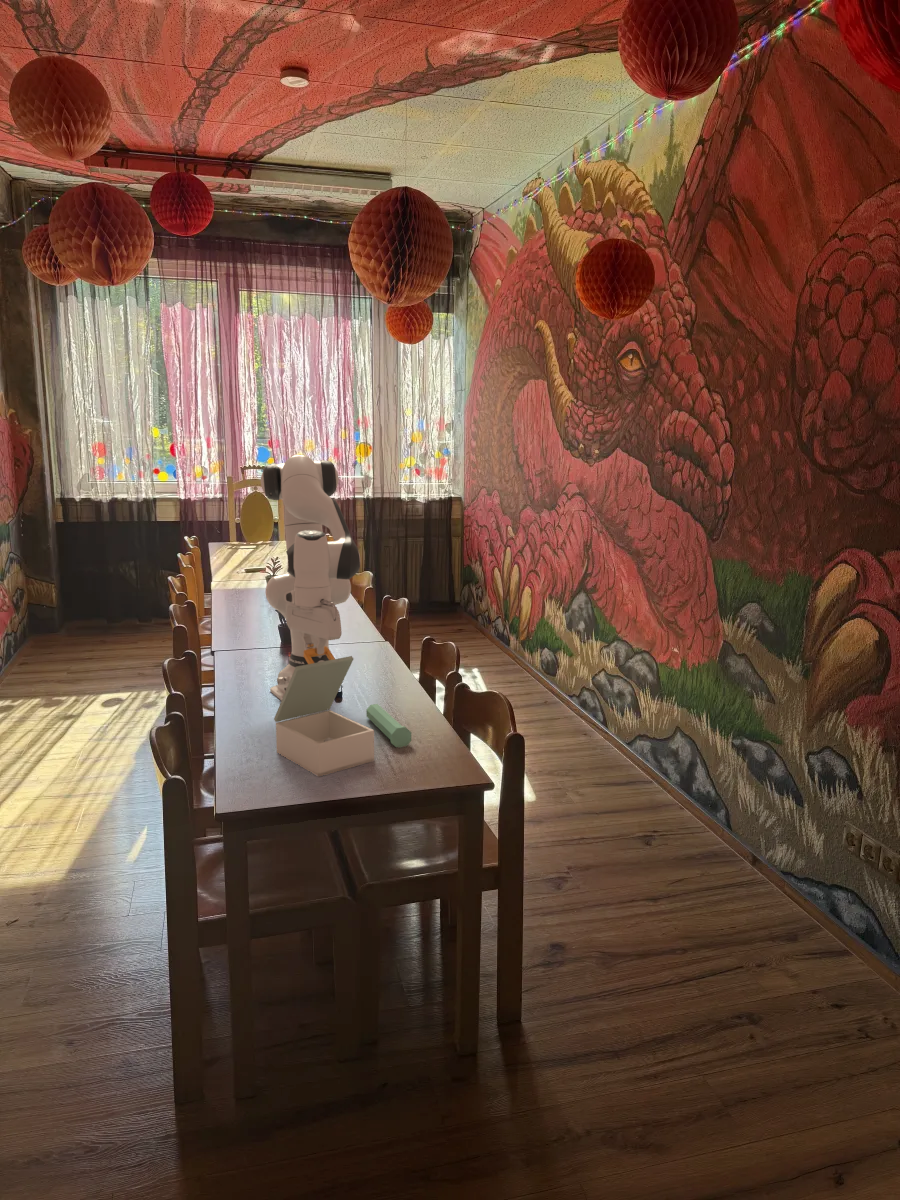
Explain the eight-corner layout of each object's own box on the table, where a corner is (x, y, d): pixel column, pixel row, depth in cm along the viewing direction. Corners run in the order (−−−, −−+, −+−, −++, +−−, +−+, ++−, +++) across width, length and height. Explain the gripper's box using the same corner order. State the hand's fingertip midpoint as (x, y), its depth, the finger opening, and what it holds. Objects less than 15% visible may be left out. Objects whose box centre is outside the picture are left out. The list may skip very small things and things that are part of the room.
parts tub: (276, 752, 219) (275, 722, 217) (330, 738, 229) (329, 709, 227) (318, 776, 204) (318, 744, 202) (374, 760, 214) (374, 730, 212)
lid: (275, 722, 217) (265, 704, 220) (329, 709, 227) (319, 692, 230) (297, 669, 205) (287, 651, 208) (353, 658, 215) (342, 641, 218)
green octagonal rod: (367, 698, 244) (395, 724, 222) (385, 703, 247) (415, 730, 224) (359, 717, 245) (387, 745, 222) (378, 722, 247) (407, 751, 224)
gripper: (347, 601, 206) (348, 657, 208) (302, 591, 221) (304, 643, 224) (324, 604, 202) (326, 661, 204) (280, 593, 217) (282, 647, 220)
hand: (314, 652), depth 214 cm, fingers open, 3 cm apart
